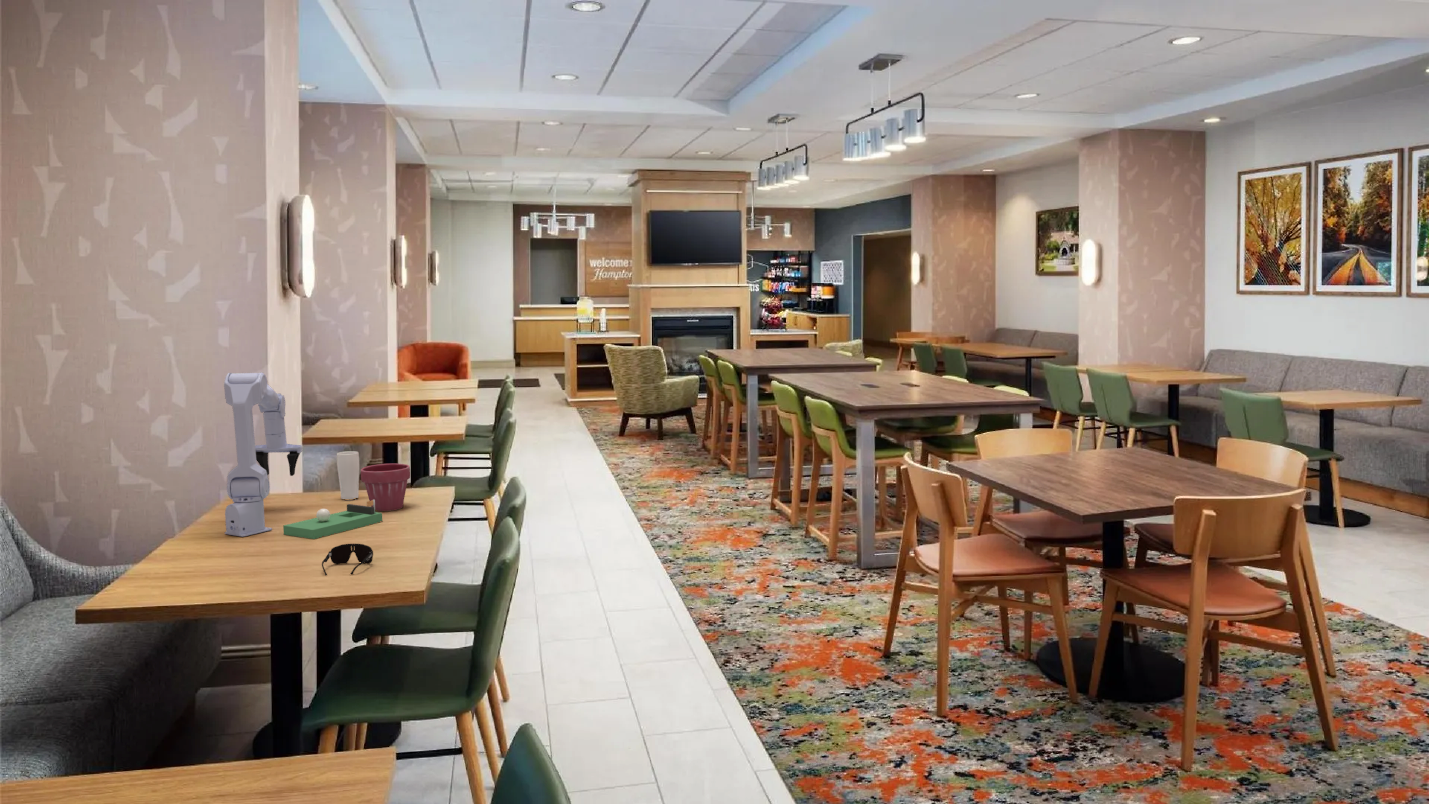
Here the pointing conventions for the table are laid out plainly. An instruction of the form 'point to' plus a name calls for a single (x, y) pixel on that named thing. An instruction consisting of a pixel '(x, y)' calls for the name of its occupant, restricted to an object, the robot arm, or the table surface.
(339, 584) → the table surface
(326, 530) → the green board
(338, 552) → the sunglasses
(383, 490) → the plant pot
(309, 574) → the table surface
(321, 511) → the ball
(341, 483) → the drinking glass
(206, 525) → the table surface
